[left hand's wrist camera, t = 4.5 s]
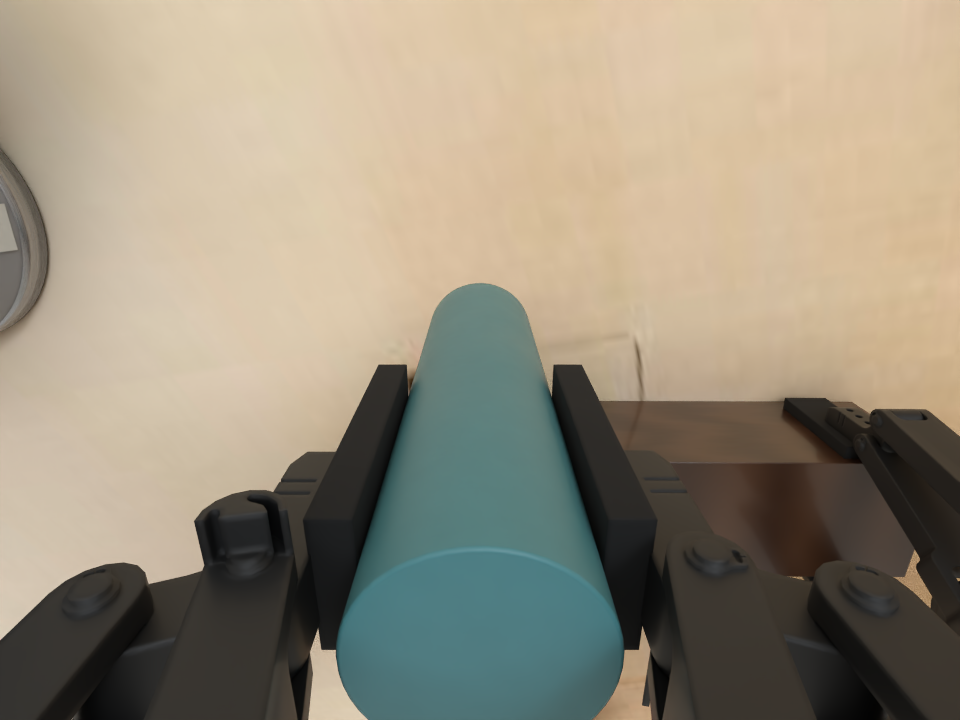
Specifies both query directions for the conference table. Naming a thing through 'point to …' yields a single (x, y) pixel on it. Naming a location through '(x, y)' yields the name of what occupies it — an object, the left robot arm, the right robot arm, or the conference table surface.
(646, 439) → the walnut block
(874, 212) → the conference table surface
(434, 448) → the teal peg
